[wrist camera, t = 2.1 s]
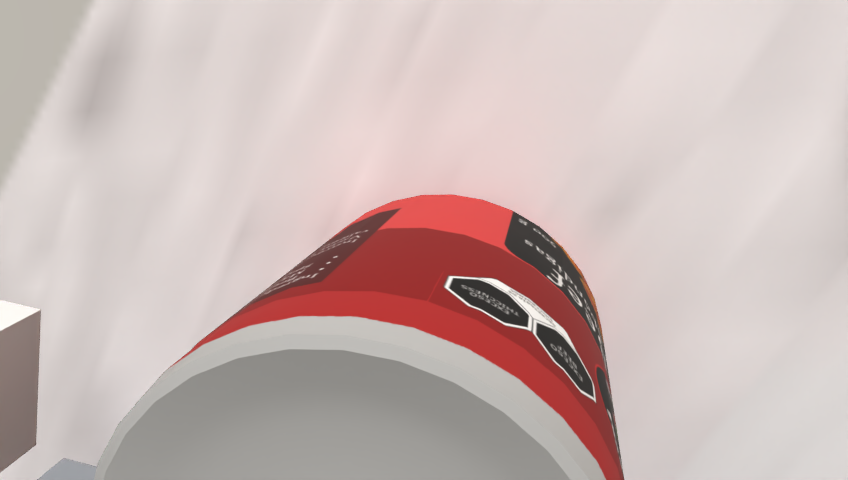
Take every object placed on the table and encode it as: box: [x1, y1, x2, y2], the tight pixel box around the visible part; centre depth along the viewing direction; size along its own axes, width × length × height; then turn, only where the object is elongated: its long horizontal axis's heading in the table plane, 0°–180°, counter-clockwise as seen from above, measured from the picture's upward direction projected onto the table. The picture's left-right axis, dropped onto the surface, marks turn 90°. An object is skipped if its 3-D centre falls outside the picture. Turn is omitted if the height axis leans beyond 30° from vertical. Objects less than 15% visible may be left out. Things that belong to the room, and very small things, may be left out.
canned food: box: [94, 195, 624, 480], centre depth 16 cm, size 8×8×11 cm
